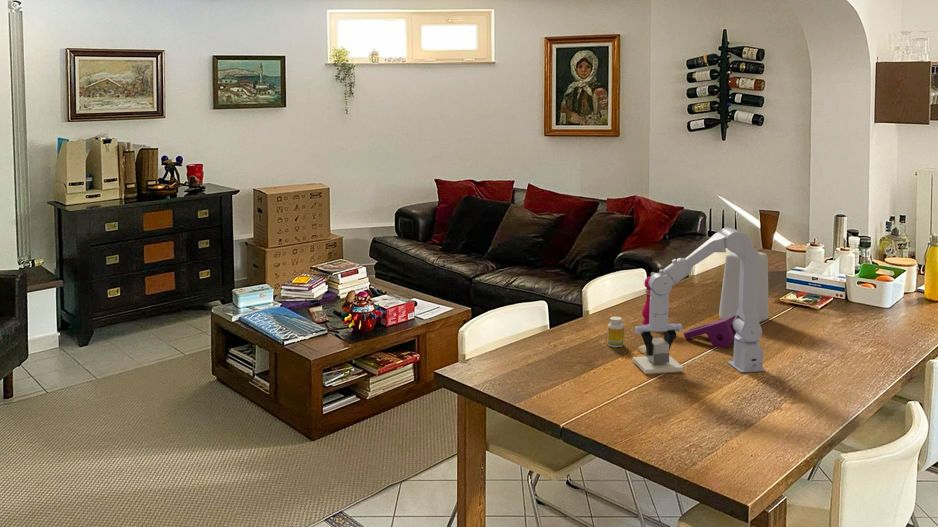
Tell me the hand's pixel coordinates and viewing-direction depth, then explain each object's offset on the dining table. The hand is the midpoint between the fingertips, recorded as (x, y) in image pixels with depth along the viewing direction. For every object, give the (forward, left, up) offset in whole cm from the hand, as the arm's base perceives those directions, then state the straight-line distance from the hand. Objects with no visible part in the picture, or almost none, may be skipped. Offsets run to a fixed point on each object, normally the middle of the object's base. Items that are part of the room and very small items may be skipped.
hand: (657, 354), depth 253 cm
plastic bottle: (+45, -50, -5) cm, 67 cm away
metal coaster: (+16, -4, -4) cm, 17 cm away
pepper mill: (+44, -14, -5) cm, 46 cm away
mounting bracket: (+22, -27, -5) cm, 35 cm away
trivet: (0, 0, -4) cm, 4 cm away
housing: (0, 0, -2) cm, 2 cm away
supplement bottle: (+24, +6, -5) cm, 25 cm away
